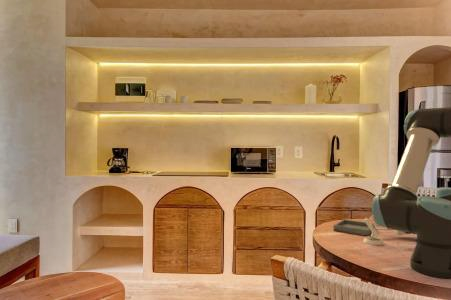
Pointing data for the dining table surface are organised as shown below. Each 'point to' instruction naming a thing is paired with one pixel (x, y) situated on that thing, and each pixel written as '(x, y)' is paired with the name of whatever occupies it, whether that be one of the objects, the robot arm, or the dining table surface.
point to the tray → (353, 227)
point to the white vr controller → (372, 235)
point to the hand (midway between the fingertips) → (385, 227)
